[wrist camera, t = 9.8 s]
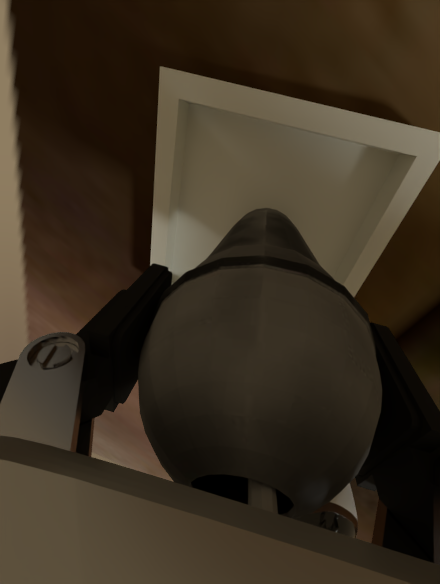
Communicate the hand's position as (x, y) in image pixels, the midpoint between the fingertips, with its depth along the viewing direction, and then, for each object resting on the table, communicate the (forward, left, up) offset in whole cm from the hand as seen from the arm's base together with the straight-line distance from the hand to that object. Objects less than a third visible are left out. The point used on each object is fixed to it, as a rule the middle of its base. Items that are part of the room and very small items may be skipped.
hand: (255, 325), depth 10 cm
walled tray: (0, 0, -12) cm, 12 cm away
